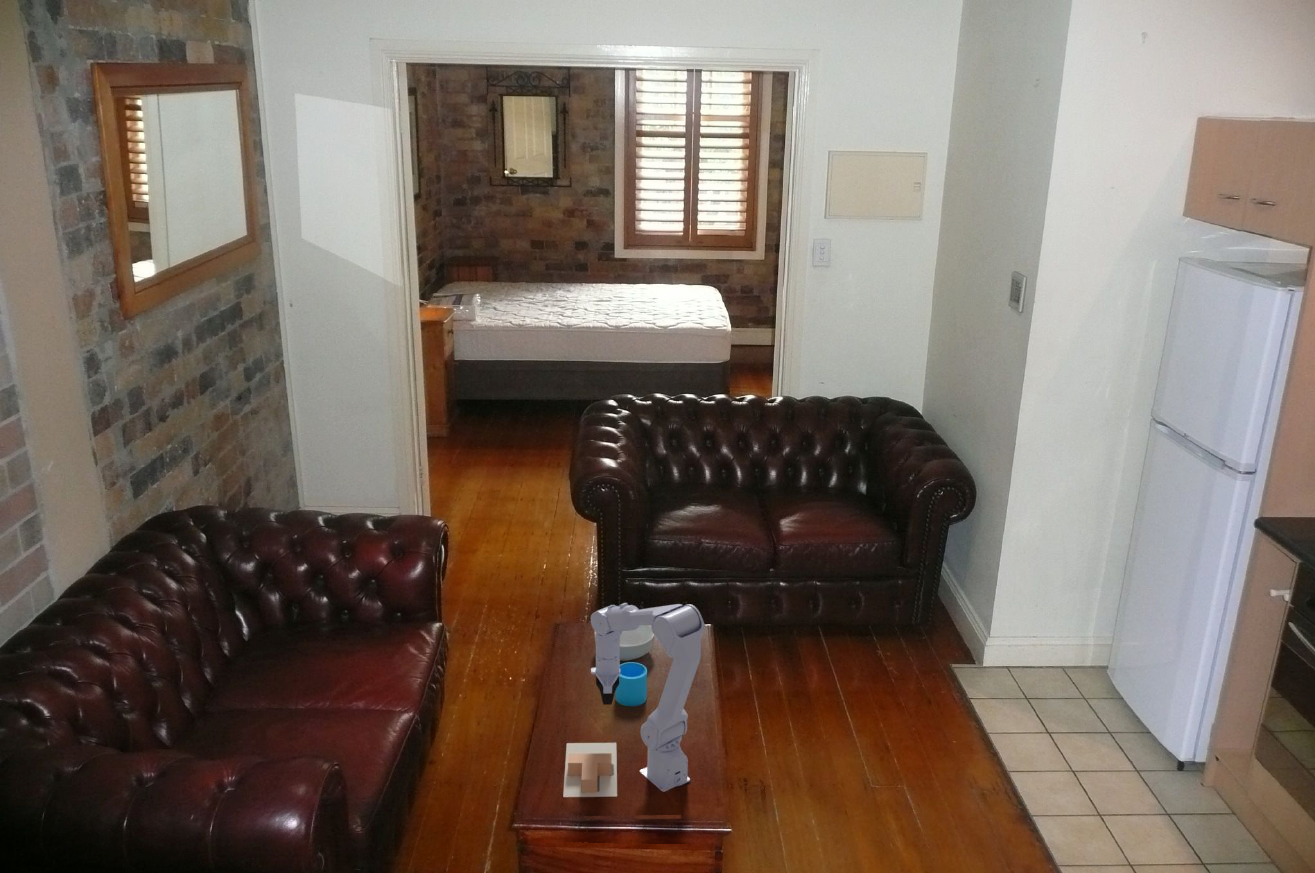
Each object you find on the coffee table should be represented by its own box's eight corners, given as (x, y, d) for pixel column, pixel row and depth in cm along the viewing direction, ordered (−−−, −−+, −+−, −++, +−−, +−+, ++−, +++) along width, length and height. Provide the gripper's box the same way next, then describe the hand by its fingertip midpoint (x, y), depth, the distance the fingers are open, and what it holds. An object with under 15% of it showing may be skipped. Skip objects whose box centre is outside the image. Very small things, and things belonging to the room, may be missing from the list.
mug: (643, 707, 263) (644, 680, 261) (612, 704, 264) (612, 677, 262) (651, 683, 274) (651, 656, 272) (621, 680, 275) (621, 653, 273)
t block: (568, 766, 238) (568, 753, 237) (611, 765, 239) (611, 753, 238) (567, 792, 229) (566, 779, 228) (611, 792, 230) (611, 779, 229)
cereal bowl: (665, 649, 291) (665, 627, 289) (633, 675, 278) (633, 652, 275) (616, 632, 300) (616, 611, 297) (582, 657, 286) (582, 634, 284)
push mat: (566, 745, 247) (566, 743, 247) (616, 744, 248) (616, 742, 248) (563, 799, 228) (563, 796, 228) (617, 798, 229) (617, 796, 229)
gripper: (591, 638, 250) (591, 686, 255) (590, 669, 237) (590, 720, 241) (620, 638, 251) (619, 686, 255) (621, 669, 237) (620, 720, 241)
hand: (607, 703), depth 248 cm, fingers closed
